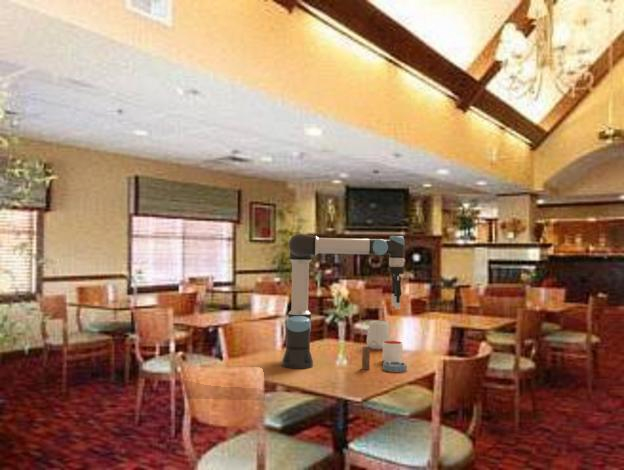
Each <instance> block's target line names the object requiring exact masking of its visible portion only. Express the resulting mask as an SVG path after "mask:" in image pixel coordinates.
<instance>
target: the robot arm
mask: <svg viewBox="0 0 624 470" xmlns="http://www.w3.org/2000/svg"><path fill="white" fill-rule="evenodd" d="M288 249H289V259H288V260H289V261H290V262H291V265H292V266H291V308H290V309H291V310H290V311H288V316H287V317H288V318H287V319H286V323H285V327H286V328H285V329H286V330H285V331H286V332H285V333H286V335H285V337H286V338H285V352H284V355H283V357H282V359H281V360H282V361H281V365H282V367H284V368H288V369H309V368H312V367H314V360H313V357H312V354H311V350H310V349H311V331H312V312H310V311H309V284H310V283H309V279H310V278H309V277H310V274H309V273H310V263H311V262H312V261H313V256H317V255H319V254H333V255H334V254H337V255H338V254H341V255H342V254H345V255H377V256H381V255H382V256H383V255H389V258H388V259H389V260H388V265H389V267H388V273H389V274H390V275H392V278H391V290H390V292H391V307H394V310H401V301H402V300H401V299H402V297H401V296H402V284H401V283H402V277H401V276H400V275H404V274H405V267H404V266H405V262H406V259H405V238H404V236H402V235H390V236H389V239H383V238H377V239H376V238H339V237H338V238H337V237H318V236H317V235H311V234H306V233H297V234H294V235H292V236H291V237H290V239H289V241H288Z"/></svg>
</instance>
